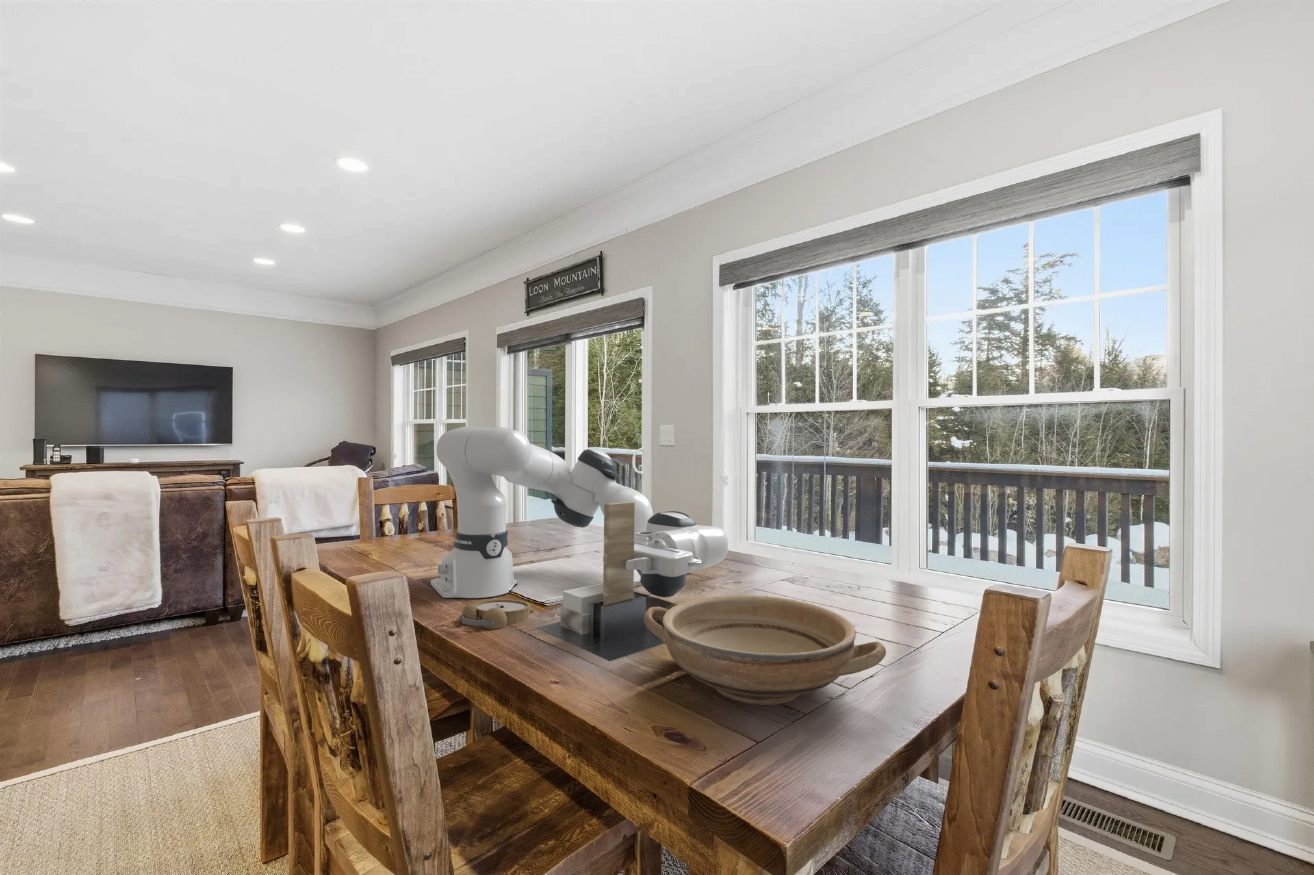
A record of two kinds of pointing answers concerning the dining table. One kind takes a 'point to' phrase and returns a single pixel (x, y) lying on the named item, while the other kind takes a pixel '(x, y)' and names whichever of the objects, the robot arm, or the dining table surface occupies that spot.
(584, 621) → the offcut lower
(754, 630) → the ceramic bowl
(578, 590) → the offcut upper
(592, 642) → the slot rack
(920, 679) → the dining table surface
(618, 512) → the birch board
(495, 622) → the alarm clock
